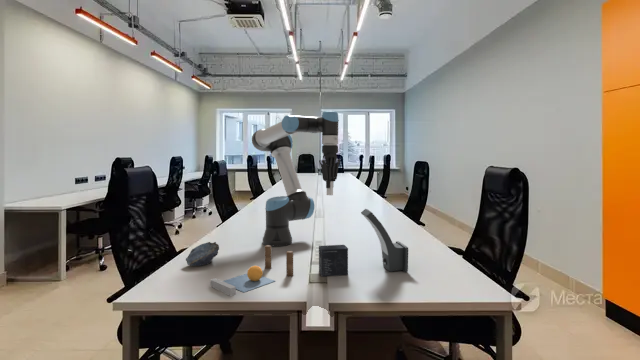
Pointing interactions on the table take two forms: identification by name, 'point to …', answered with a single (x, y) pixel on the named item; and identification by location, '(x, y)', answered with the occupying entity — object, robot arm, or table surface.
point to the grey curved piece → (388, 246)
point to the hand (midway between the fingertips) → (329, 195)
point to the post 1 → (267, 257)
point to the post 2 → (289, 263)
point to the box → (333, 260)
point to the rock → (202, 254)
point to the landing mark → (247, 282)
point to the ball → (254, 273)
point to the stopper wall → (223, 286)
